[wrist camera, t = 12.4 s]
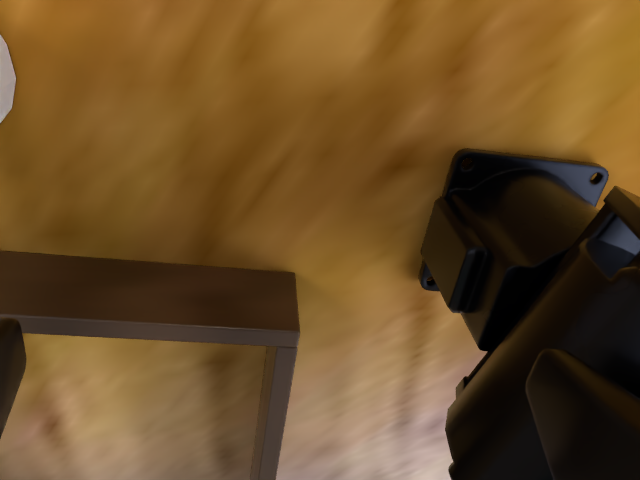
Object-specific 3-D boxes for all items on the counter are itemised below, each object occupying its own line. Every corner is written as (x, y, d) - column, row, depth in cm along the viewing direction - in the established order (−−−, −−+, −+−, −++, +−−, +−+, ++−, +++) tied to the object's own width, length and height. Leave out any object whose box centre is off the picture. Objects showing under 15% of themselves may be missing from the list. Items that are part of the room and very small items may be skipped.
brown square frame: (295, 272, 22) (300, 332, 19) (261, 494, 30) (261, 566, 27) (-131, 240, 20) (-214, 302, 17) (-51, 491, 28) (-96, 570, 24)
